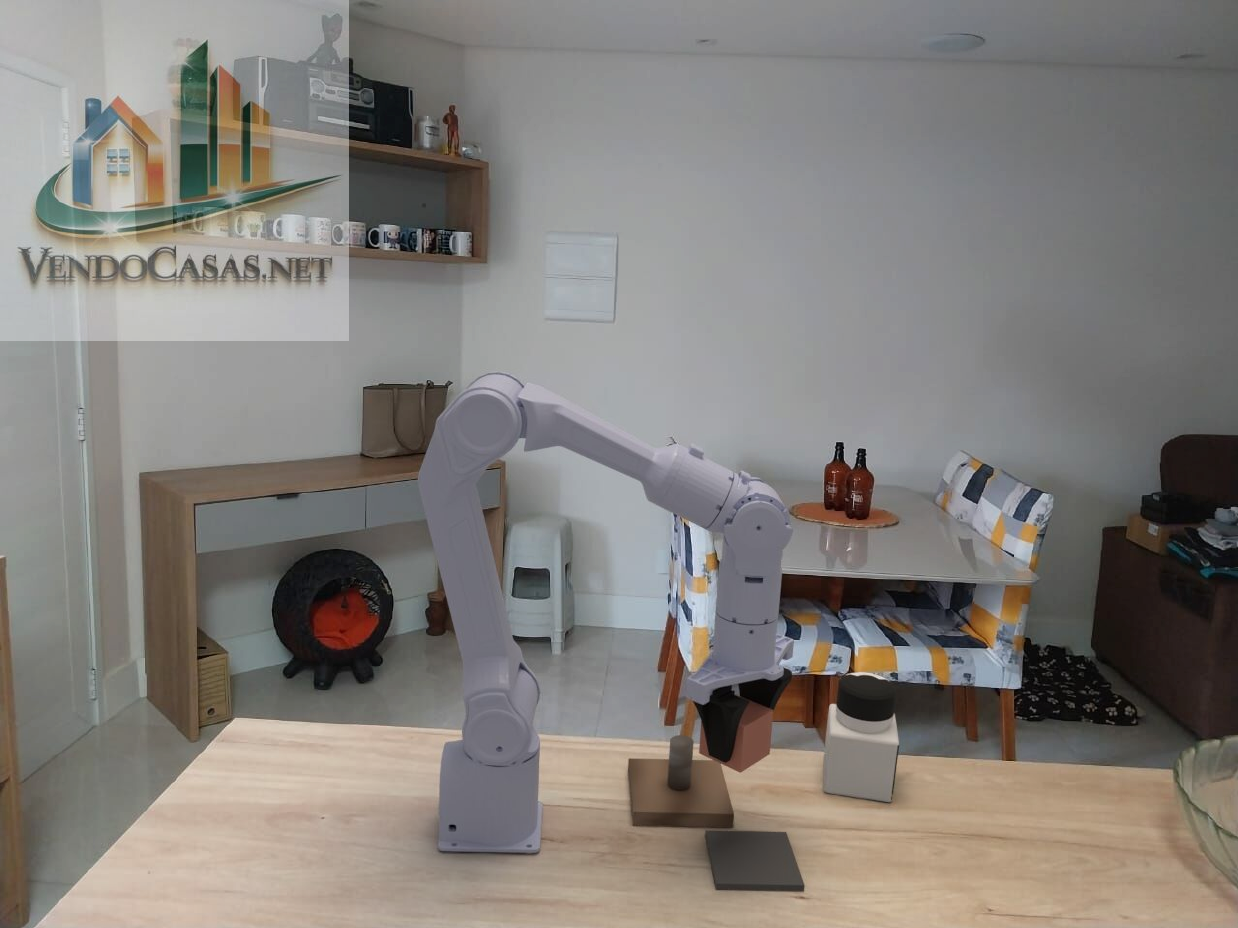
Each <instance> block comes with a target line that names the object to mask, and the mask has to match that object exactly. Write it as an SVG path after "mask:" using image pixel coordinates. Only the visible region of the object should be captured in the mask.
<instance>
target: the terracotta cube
mask: <svg viewBox="0 0 1238 928" xmlns="http://www.w3.org/2000/svg"><path fill="white" fill-rule="evenodd" d="M735 695H736V696H739V697H740V695H738V694H735ZM741 698H743V697H741ZM743 699H745V698H743ZM746 700H748V699H746ZM748 701H750V700H748ZM773 718H774V711H773V710H772V709H770V708H767V707H765V706H762V705H760V704H758V703H755V702H753V701H750V703H749V704H748V706H747V707H746V709H745V711H744V713H743V715H742V717H741V720H740V722H739V725H738V729H737V733H736V739H735V745H734V750H733V754H732V757H731V759H730V761H728V762H727V763H724V762H722V761H720V760H718V759H716V758H714V757H712V756H710V755H709V753H708V748H707V743H706V737H705V733H704V728H703V725H702V721H701V720H700V735H699V748H698V749H699V750H698V753H699V754H700V755H702V756H704V757H706V758H708V759H709V760H714V761H716V762H718V763H721V765H723V766H725V767H727V768H729V769H732V770H733V771H736V772H738V773H740V774H741V773H743V772H744V771H746V770H748V768H750V767H752V766H754V765H756V764H757V763H758V762H760V761H762V760H763V759H765V758H766V757H767V756H769V755H770V753H771V746H772V745H771V742H772V731H773V730H772V729H773V720H774V719H773Z"/></svg>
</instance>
